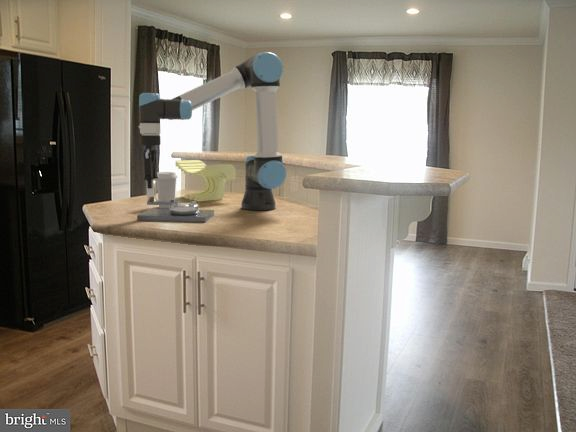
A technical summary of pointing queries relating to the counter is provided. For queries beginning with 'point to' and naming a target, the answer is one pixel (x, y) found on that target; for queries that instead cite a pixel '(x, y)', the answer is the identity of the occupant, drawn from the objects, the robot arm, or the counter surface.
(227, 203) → the counter surface
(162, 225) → the counter surface
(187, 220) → the plate
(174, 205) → the lever with amber grip
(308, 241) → the counter surface
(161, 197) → the coffee cup
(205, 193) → the slatted curved stool
